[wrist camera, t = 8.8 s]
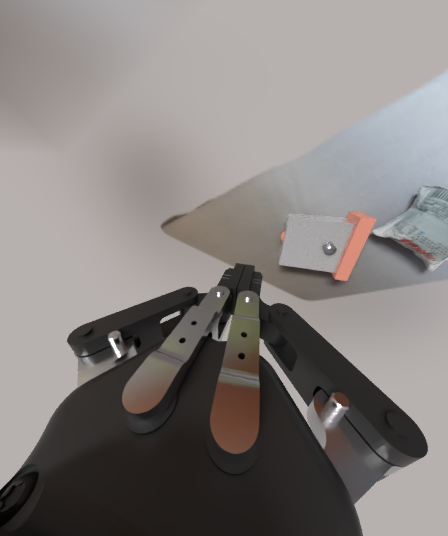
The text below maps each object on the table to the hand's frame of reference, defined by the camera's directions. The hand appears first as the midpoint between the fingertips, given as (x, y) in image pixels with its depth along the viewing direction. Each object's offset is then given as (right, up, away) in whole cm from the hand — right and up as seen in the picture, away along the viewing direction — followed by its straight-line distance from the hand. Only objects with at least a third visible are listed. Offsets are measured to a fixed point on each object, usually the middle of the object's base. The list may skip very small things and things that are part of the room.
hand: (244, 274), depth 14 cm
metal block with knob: (+15, +6, +19) cm, 25 cm away
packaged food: (+31, +7, +14) cm, 35 cm away
